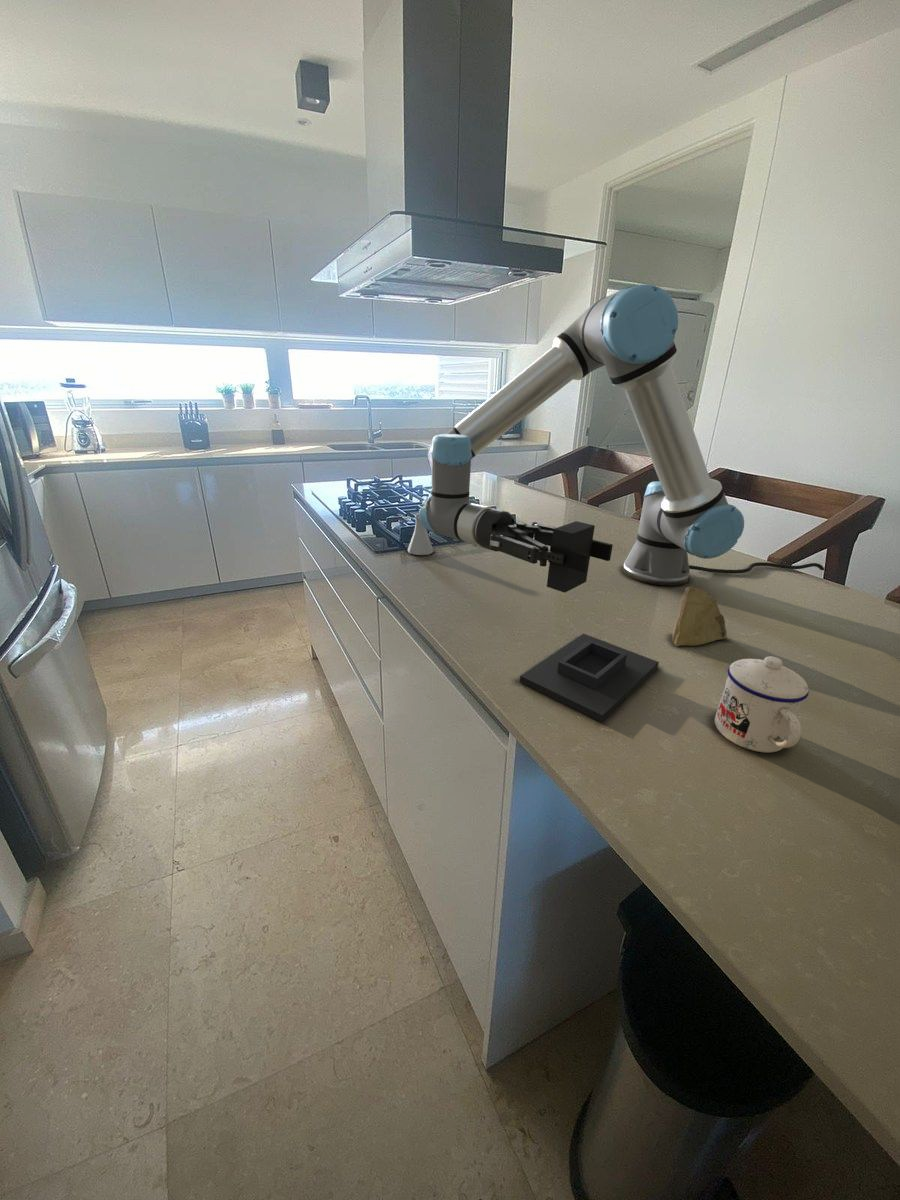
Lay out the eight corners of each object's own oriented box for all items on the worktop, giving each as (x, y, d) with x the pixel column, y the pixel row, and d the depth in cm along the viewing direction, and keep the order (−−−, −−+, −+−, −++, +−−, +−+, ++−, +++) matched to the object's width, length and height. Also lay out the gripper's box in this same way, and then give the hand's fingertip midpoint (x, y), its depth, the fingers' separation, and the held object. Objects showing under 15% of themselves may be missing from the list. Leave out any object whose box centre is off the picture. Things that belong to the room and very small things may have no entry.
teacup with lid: (700, 711, 71) (720, 641, 66) (761, 712, 71) (786, 642, 66) (746, 771, 60) (775, 693, 55) (819, 772, 60) (854, 694, 55)
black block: (568, 576, 86) (576, 521, 82) (586, 581, 84) (594, 525, 79) (546, 586, 81) (553, 528, 77) (564, 592, 79) (572, 533, 75)
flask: (435, 548, 136) (435, 513, 132) (431, 556, 129) (432, 520, 125) (409, 546, 136) (409, 511, 132) (405, 555, 130) (404, 518, 126)
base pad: (582, 639, 90) (584, 623, 89) (657, 668, 81) (661, 651, 80) (519, 682, 76) (521, 664, 75) (601, 722, 68) (604, 703, 66)
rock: (726, 618, 94) (672, 604, 96) (747, 597, 87) (688, 582, 89) (720, 668, 90) (664, 652, 92) (741, 650, 82) (680, 633, 84)
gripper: (517, 536, 99) (623, 565, 85) (450, 558, 86) (562, 597, 72) (520, 500, 96) (631, 523, 82) (451, 517, 83) (569, 548, 69)
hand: (598, 558), depth 77 cm, fingers closed on black block, 7 cm apart
